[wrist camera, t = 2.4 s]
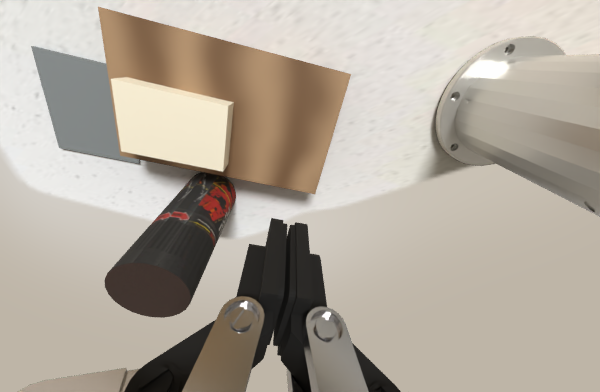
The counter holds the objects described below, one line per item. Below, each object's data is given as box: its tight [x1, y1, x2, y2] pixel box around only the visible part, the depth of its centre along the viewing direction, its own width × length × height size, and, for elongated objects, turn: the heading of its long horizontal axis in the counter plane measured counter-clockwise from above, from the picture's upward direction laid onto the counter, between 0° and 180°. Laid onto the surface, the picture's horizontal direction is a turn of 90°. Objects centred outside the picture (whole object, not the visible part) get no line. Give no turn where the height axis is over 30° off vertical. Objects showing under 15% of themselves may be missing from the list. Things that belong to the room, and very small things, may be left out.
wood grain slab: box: [98, 7, 351, 194], centre depth 24 cm, size 20×12×4 cm, turn 77°
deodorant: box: [105, 172, 236, 317], centre depth 24 cm, size 6×6×15 cm
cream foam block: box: [111, 77, 234, 172], centre depth 21 cm, size 9×6×2 cm, turn 77°
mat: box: [31, 46, 140, 164], centre depth 25 cm, size 8×10×1 cm
